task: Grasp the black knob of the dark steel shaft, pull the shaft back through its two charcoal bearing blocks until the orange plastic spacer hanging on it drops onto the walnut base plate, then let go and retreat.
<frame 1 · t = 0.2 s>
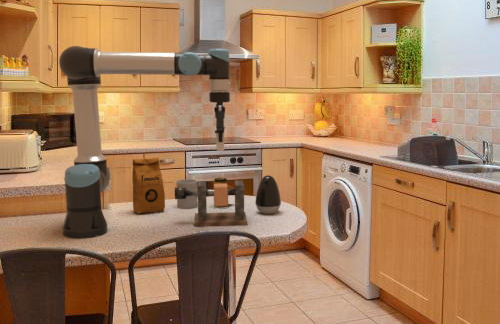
hand: (220, 148, 204), 27 cm above the breakfast bar, fingers open, 13 cm apart
spacer: (220, 203, 205), point 7 cm above the breakfast bar, touching shaft
mug: (187, 206, 231), on the breakfast bar
shaft: (207, 192, 204), point 11 cm above the breakfast bar, slide at 0.0 cm, touching spacer
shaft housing: (213, 221, 206), on the breakfast bar
coffee package: (149, 211, 222), on the breakfast bar
condiment: (222, 206, 230), on the breakfast bar
black egg shaped speaker: (268, 213, 218), on the breakfast bar
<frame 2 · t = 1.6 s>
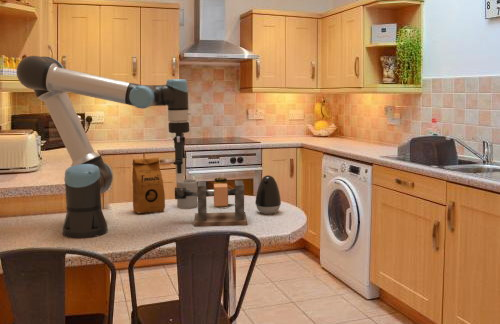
hand: (181, 178, 202), 17 cm above the breakfast bar, fingers open, 13 cm apart
nothing on the breakfast bar moved.
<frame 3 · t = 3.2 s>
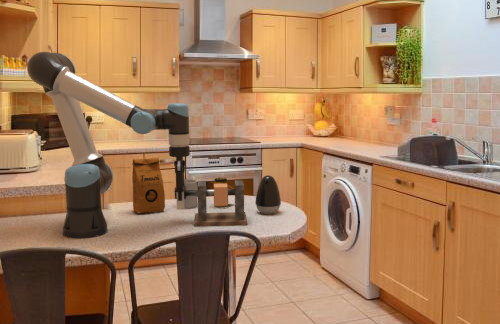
hand: (180, 207, 204), 6 cm above the breakfast bar, fingers closed on shaft, 4 cm apart
shaft: (207, 192, 204), point 11 cm above the breakfast bar, slide at 0.0 cm, touching gripper, spacer
everything else where it was.
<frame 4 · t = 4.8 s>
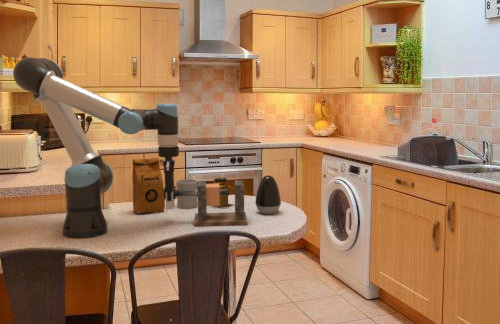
hand: (170, 207, 204), 6 cm above the breakfast bar, fingers closed on shaft, 4 cm apart
spacer: (212, 203, 204), point 7 cm above the breakfast bar
shaft: (196, 192, 203), point 11 cm above the breakfast bar, slide at 3.9 cm, touching gripper
everything else where it was.
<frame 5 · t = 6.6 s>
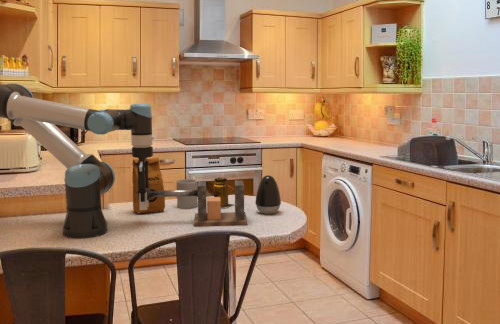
hand: (144, 208, 203), 6 cm above the breakfast bar, fingers closed on shaft, 4 cm apart
spacer: (214, 217, 205), point 1 cm above the breakfast bar, touching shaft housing
shaft: (171, 193, 203), point 11 cm above the breakfast bar, slide at 13.4 cm, touching gripper
everything else where it was.
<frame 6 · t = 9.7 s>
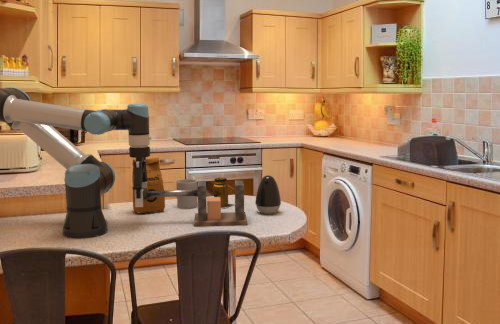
hand: (141, 202, 203), 8 cm above the breakfast bar, fingers open, 13 cm apart
shaft: (168, 193, 203), point 11 cm above the breakfast bar, slide at 14.3 cm
everything else where it was.
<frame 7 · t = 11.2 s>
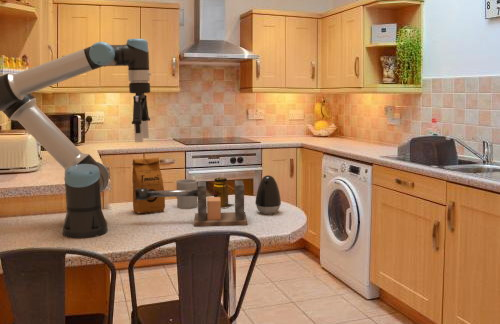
hand: (142, 140, 202), 31 cm above the breakfast bar, fingers open, 13 cm apart
nothing on the breakfast bar moved.
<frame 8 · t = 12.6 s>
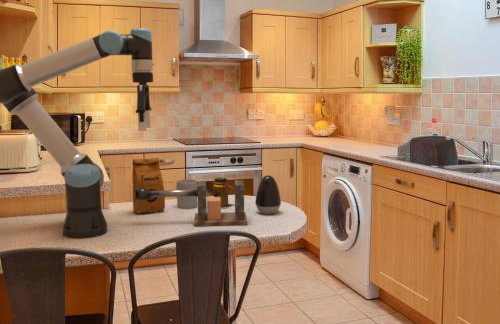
hand: (144, 129, 204), 35 cm above the breakfast bar, fingers open, 13 cm apart
nothing on the breakfast bar moved.
at the end: shaft slide at 14.3 cm; spacer point 1.5 cm above the breakfast bar; spacer inside the target area on the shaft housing (2.7 cm from its centre), point 1.5 cm above the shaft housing's base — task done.
